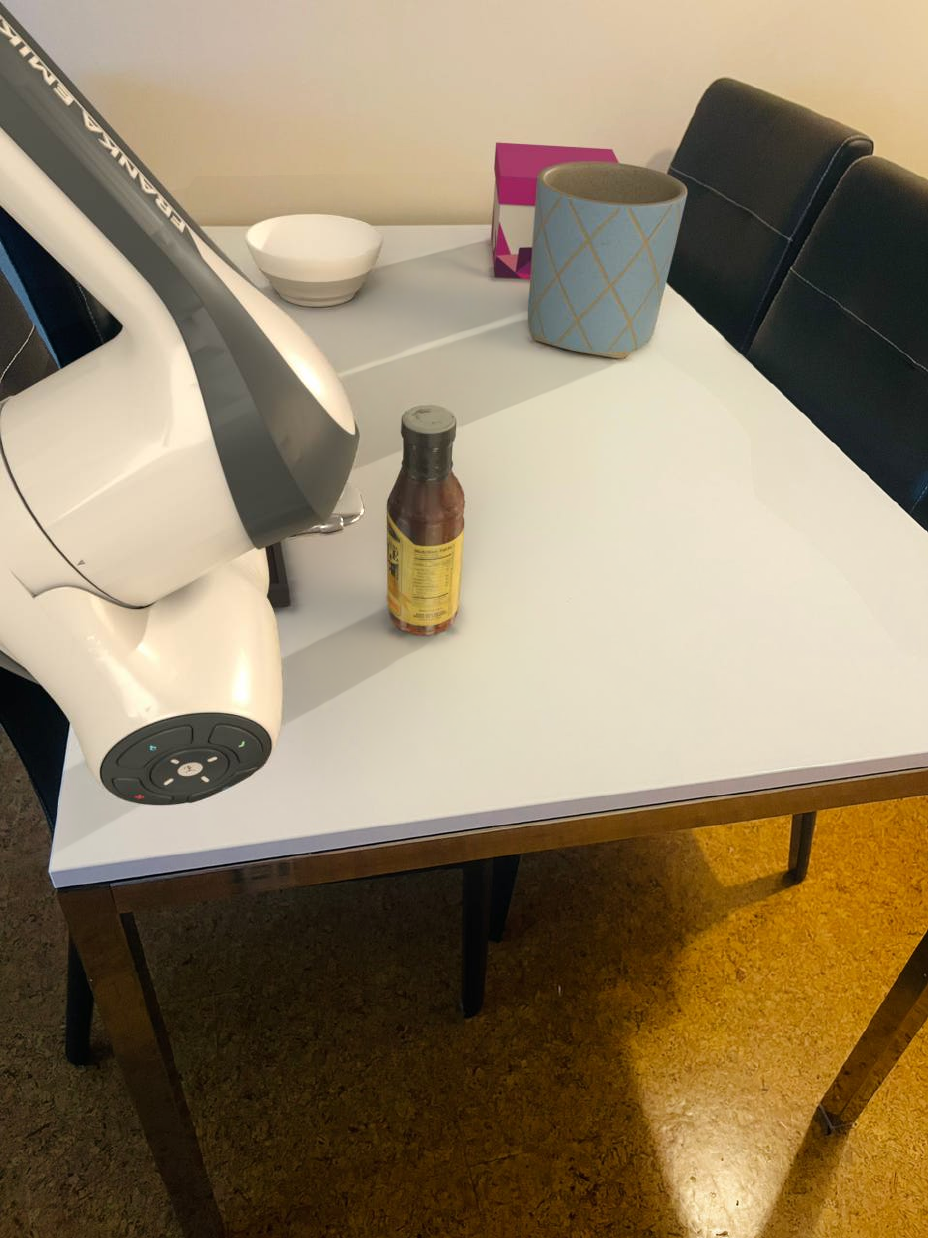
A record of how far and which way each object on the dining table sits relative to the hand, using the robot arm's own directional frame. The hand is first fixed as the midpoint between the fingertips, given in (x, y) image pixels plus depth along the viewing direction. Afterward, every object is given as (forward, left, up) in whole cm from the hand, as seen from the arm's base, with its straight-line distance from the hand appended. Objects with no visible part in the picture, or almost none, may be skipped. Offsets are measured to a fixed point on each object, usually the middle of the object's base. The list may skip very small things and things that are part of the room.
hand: (176, 422), depth 58 cm
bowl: (+53, +57, -22) cm, 81 cm away
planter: (+75, +23, -22) cm, 82 cm away
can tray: (+10, +15, -22) cm, 28 cm away
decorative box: (+92, +46, -22) cm, 105 cm away
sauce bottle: (+16, -7, -22) cm, 28 cm away
